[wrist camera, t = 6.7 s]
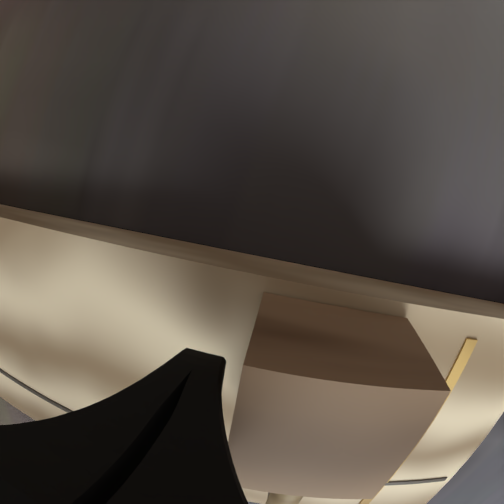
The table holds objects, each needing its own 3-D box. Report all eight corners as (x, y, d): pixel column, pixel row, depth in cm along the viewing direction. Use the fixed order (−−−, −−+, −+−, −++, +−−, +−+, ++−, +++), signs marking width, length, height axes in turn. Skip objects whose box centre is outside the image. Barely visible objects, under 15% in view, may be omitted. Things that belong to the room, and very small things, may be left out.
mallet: (321, 487, 13) (319, 549, 9) (225, 473, 13) (208, 535, 9) (407, 317, 10) (450, 390, 6) (263, 292, 10) (242, 365, 6)
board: (418, 484, 15) (423, 506, 13) (3, 376, 18) (-12, 389, 16) (528, 308, 11) (550, 326, 9) (-26, 198, 14) (-51, 204, 12)
